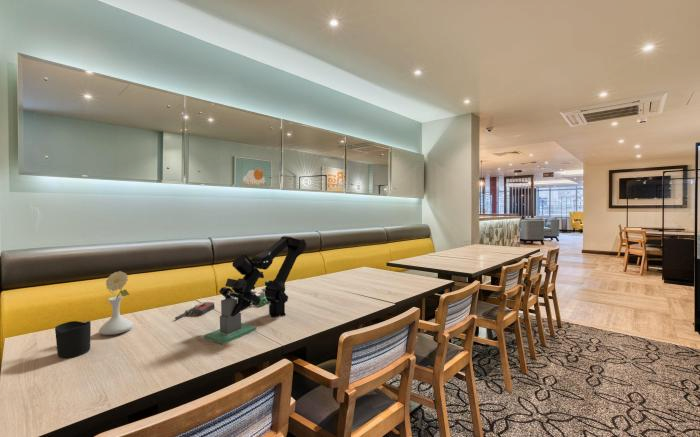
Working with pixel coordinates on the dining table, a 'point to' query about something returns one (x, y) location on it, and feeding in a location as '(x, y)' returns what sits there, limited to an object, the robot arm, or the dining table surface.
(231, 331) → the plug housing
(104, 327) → the flower in vase
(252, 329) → the board
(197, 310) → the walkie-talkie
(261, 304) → the robot kit
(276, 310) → the robot arm
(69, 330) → the pen holder
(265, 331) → the dining table surface
